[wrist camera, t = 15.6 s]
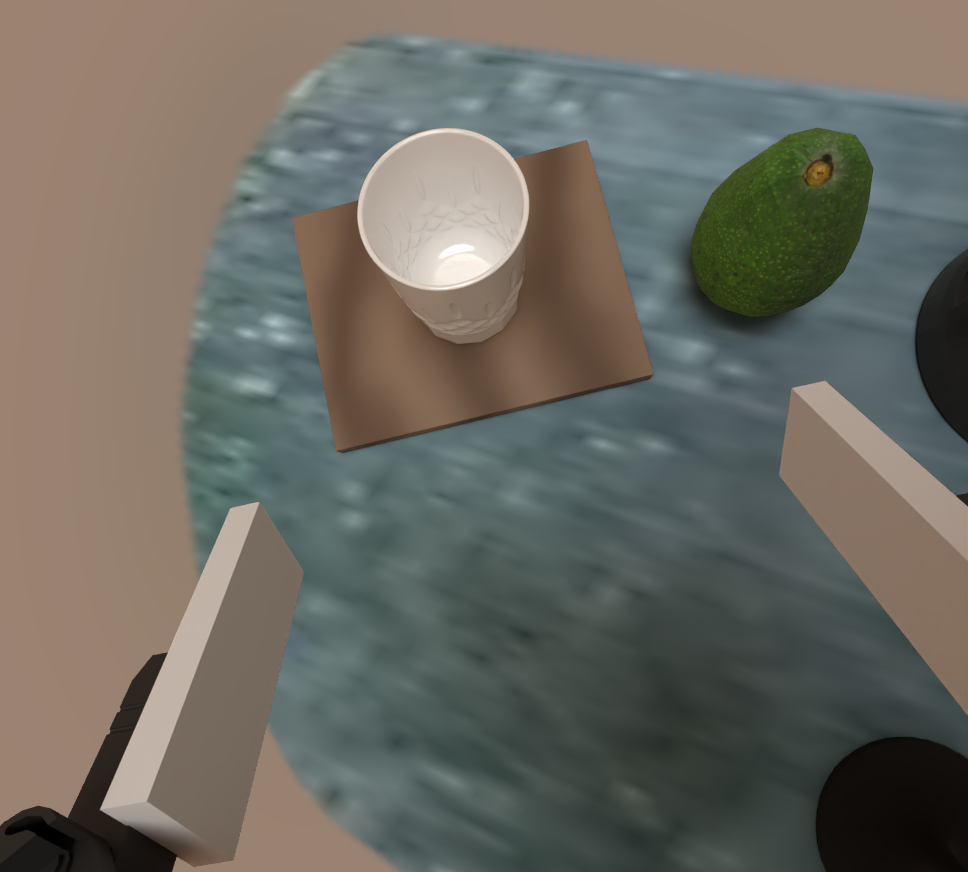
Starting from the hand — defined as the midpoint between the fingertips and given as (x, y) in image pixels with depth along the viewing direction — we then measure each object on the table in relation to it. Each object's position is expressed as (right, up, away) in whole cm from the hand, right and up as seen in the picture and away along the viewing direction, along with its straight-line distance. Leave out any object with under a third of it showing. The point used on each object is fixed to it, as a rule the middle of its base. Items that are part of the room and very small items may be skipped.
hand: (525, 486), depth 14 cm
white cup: (-2, +10, +21) cm, 23 cm away
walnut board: (-2, +10, +22) cm, 24 cm away
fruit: (+15, +11, +21) cm, 28 cm away
